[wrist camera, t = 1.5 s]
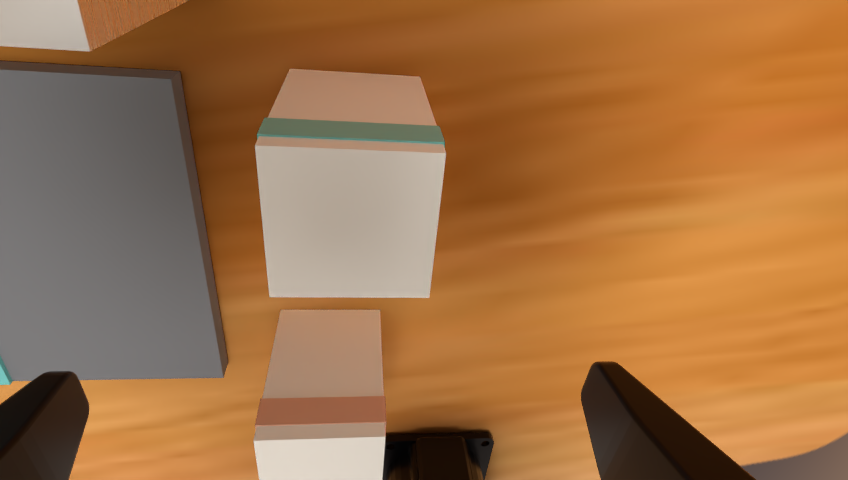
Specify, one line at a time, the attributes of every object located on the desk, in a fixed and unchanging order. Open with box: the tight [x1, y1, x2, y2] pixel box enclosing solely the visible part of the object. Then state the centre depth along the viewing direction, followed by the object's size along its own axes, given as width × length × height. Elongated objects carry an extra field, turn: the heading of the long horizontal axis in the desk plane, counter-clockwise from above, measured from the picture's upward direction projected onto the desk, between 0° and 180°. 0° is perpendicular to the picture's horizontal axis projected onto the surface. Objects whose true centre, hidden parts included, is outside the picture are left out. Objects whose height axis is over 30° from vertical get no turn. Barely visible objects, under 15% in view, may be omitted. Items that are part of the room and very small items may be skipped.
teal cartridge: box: [255, 69, 446, 298], centre depth 17 cm, size 5×5×7 cm
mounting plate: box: [0, 61, 228, 385], centre depth 20 cm, size 14×10×1 cm
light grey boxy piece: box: [254, 310, 386, 480], centre depth 22 cm, size 5×5×7 cm
